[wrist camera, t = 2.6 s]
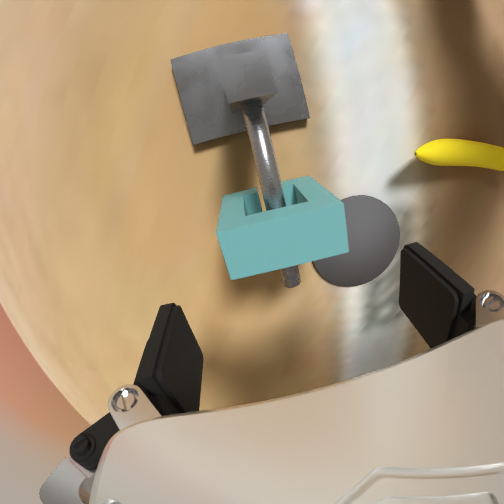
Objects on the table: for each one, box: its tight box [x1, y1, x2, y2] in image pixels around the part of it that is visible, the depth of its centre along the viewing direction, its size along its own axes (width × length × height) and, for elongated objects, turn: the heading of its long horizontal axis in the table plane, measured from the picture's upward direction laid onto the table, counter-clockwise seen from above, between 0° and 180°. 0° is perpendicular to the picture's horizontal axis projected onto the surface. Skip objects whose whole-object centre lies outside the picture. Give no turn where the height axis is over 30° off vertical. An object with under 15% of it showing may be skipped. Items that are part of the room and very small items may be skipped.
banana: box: [415, 139, 504, 171], centre depth 21 cm, size 3×19×6 cm, turn 96°
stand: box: [171, 33, 310, 288], centre depth 18 cm, size 10×18×11 cm, turn 13°
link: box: [216, 176, 349, 280], centre depth 19 cm, size 7×3×8 cm, turn 104°
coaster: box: [313, 195, 400, 286], centre depth 28 cm, size 10×10×1 cm
